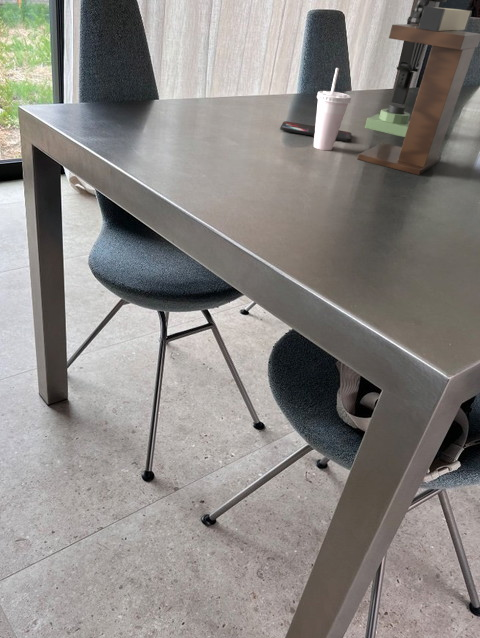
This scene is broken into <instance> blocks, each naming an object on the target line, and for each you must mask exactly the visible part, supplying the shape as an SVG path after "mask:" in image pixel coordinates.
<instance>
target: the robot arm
mask: <svg viewBox="0 0 480 638" xmlns="http://www.w3.org/2000/svg"><path fill="white" fill-rule="evenodd" d="M446 2H447V0H417V2H416V5H415V7H414V9H413V10H412V12H411V15H410V16H408V18H407V19H406V24H418V25H419V24H420V20H421V17H422V13H423V10H424V6H428V7H436V4H437V3H443V4H444V3H446ZM425 48H426V44H420V43H414V42H408V41H403V43H402V48H401V53H400V58H399V62H398V65H397V66H396V70H397V71H399V73H398V77H397V81H396V83H395V86H394V87H395V88H394V91H393V94H392V98H391V103H392V104H398V105H402V106H404V105H405V104H406V101H407V98H408V94H409V90H410V87H411V84H412V81H413V78H414V74H415V72H416V73H419V70H420V68H419V67H420V62H421V60H422V58H423V54H424V51H425Z"/></svg>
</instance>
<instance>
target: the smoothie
mask: <svg viewBox="0 0 480 638" xmlns="http://www.w3.org/2000/svg"><path fill="white" fill-rule="evenodd" d="M339 70H340V68H339V67H335V71H334V75H333V80H332V84H331V90H320V91H319V90H318V92H317V95H316V99H317V106H316V115H315V125H314V126H315V136H313V137H314V138H313V148H315V149H317V150H321V151H332V150H333V148H334V145H335V143H336V140H335V139H336V137H337V134H338V131H339V130H340V127H341V125H342V123H343V120H344V117H345V114H346V112H347V108H348V106H349V104H350V103H351V100H352V96H351V95H350V94H346V93H343V92H339V91H335V88H336V84H337V79H338V76H339Z"/></svg>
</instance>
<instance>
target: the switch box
mask: <svg viewBox="0 0 480 638" xmlns="http://www.w3.org/2000/svg"><path fill="white" fill-rule="evenodd" d="M388 109H389V108H382V109H381V110H380V111H379V113H377V114H374V115H371V116H369V117H367V118H366V121H365V125H364V129H369V130H373V131H377V132H381V133H386V134H390V135H394V136H397V137H402V138H405V135H406V132H407V128H408V125H409V122H410V118H411V113H410V112H406V111H404V114H395V113H390V112H388Z"/></svg>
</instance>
